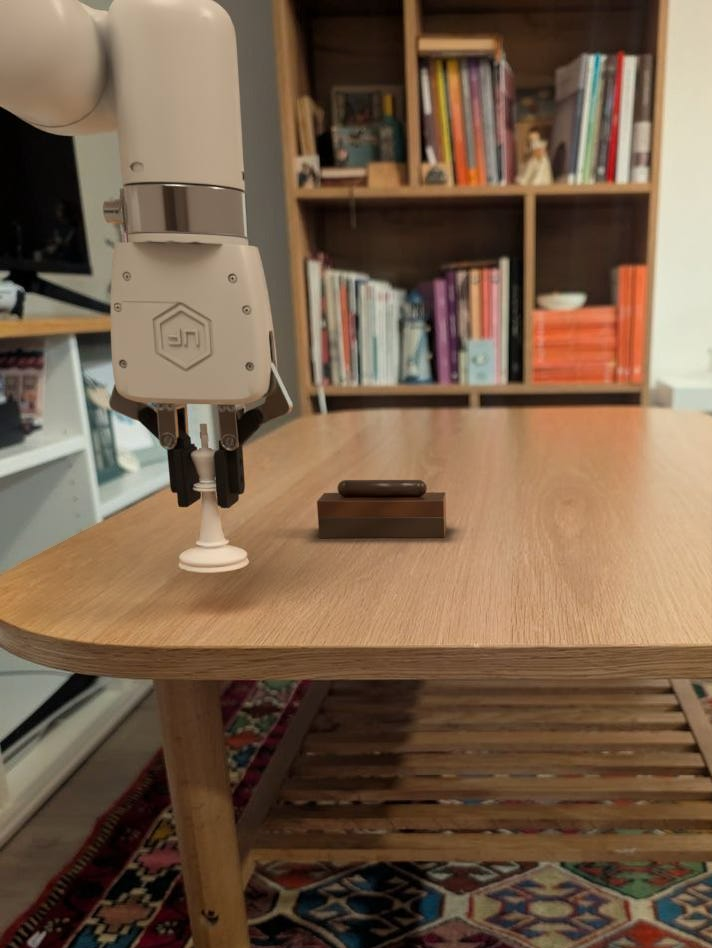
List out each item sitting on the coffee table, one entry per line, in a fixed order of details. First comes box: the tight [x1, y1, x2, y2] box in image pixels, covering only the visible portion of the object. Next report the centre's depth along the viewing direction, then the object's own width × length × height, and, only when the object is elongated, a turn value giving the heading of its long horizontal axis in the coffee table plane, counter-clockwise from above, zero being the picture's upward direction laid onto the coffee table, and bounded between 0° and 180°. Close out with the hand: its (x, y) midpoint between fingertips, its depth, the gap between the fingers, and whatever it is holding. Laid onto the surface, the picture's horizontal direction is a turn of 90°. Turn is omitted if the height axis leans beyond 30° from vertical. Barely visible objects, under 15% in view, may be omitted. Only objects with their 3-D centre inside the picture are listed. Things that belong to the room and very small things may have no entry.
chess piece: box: [178, 423, 250, 574], centre depth 67 cm, size 5×5×10 cm
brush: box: [316, 479, 447, 539], centre depth 91 cm, size 12×4×5 cm, turn 89°
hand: (209, 501), depth 67 cm, fingers closed on chess piece
